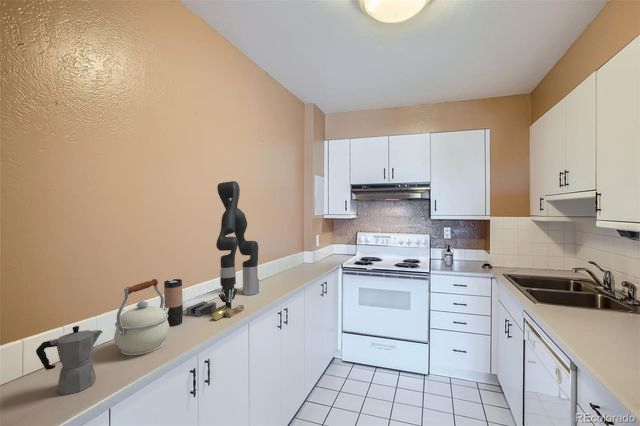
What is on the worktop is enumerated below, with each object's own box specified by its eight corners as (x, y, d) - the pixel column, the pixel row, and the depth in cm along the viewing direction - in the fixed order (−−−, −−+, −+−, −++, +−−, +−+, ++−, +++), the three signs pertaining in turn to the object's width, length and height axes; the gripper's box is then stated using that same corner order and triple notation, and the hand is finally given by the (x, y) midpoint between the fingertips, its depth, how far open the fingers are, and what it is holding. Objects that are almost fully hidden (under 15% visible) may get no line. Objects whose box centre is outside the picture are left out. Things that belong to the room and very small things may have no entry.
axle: (223, 311, 154) (225, 305, 153) (229, 315, 153) (231, 308, 152) (210, 318, 144) (212, 311, 144) (216, 322, 143) (218, 315, 143)
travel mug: (178, 326, 137) (177, 282, 136) (161, 326, 137) (160, 282, 137) (185, 320, 144) (185, 278, 144) (170, 320, 144) (169, 279, 144)
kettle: (141, 363, 104) (140, 291, 103) (97, 359, 107) (95, 289, 107) (187, 334, 128) (186, 275, 128) (150, 331, 132) (149, 274, 132)
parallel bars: (226, 308, 162) (226, 303, 162) (243, 310, 158) (243, 305, 158) (211, 315, 150) (211, 310, 150) (229, 317, 147) (229, 313, 147)
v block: (203, 307, 163) (202, 301, 163) (216, 309, 160) (216, 302, 160) (186, 315, 152) (186, 308, 152) (200, 316, 149) (200, 309, 149)
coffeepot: (100, 371, 99) (99, 316, 99) (107, 382, 92) (106, 323, 92) (35, 392, 87) (34, 331, 87) (38, 406, 81) (37, 340, 81)
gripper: (229, 272, 162) (230, 304, 162) (213, 278, 150) (213, 312, 150) (241, 273, 160) (242, 306, 160) (226, 278, 147) (226, 314, 147)
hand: (228, 309), depth 155 cm, fingers closed
